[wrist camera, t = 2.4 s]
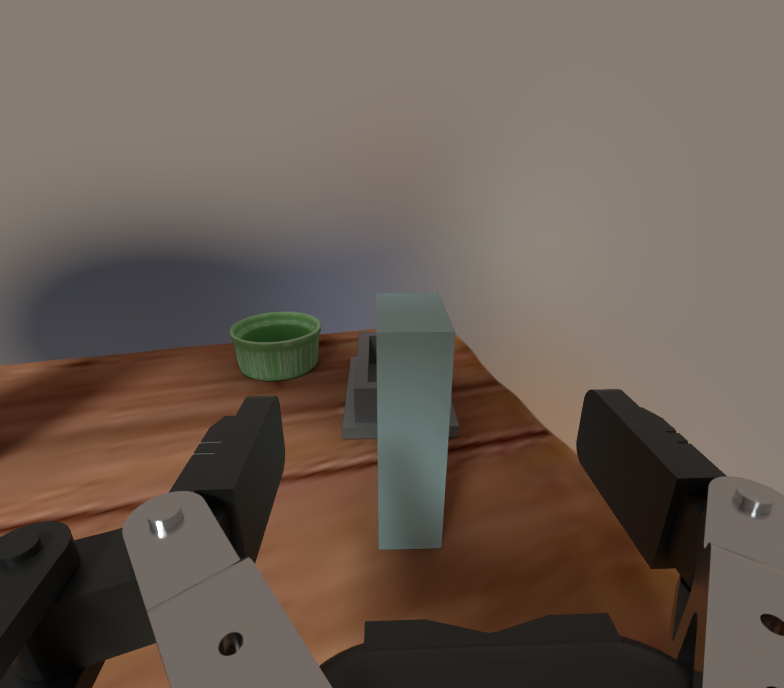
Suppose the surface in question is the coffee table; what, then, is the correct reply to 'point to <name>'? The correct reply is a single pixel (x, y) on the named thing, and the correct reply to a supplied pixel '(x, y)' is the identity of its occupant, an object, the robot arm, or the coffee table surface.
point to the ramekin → (276, 345)
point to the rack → (369, 393)
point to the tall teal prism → (412, 417)
